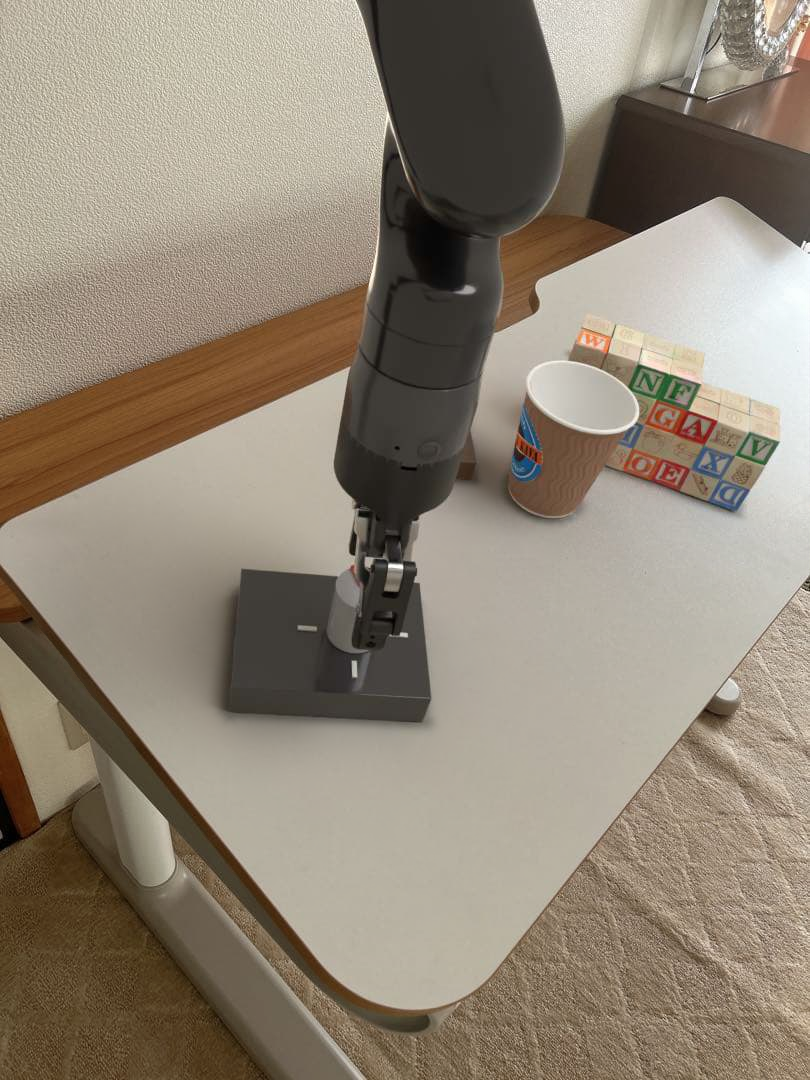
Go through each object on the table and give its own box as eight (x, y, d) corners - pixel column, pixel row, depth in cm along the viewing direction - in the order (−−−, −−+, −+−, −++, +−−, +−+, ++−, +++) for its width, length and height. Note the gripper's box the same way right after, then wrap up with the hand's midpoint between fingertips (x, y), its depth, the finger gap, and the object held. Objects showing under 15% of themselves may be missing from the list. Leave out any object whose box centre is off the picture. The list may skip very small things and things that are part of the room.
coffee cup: (483, 454, 88) (517, 353, 80) (580, 464, 90) (623, 367, 82) (499, 527, 81) (537, 424, 73) (604, 536, 83) (653, 437, 75)
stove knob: (388, 647, 65) (401, 600, 61) (337, 658, 63) (348, 611, 60) (367, 606, 67) (379, 559, 64) (318, 616, 66) (328, 569, 62)
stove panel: (228, 712, 62) (231, 686, 60) (238, 593, 70) (241, 566, 68) (423, 722, 65) (432, 697, 63) (412, 606, 72) (420, 581, 70)
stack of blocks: (739, 478, 94) (797, 383, 85) (736, 514, 89) (797, 417, 81) (548, 409, 96) (586, 310, 87) (536, 441, 92) (575, 340, 83)
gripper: (340, 340, 56) (312, 522, 67) (344, 494, 46) (310, 677, 57) (456, 354, 57) (409, 530, 68) (484, 507, 47) (424, 683, 58)
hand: (364, 597), depth 63 cm, fingers open, 8 cm apart
